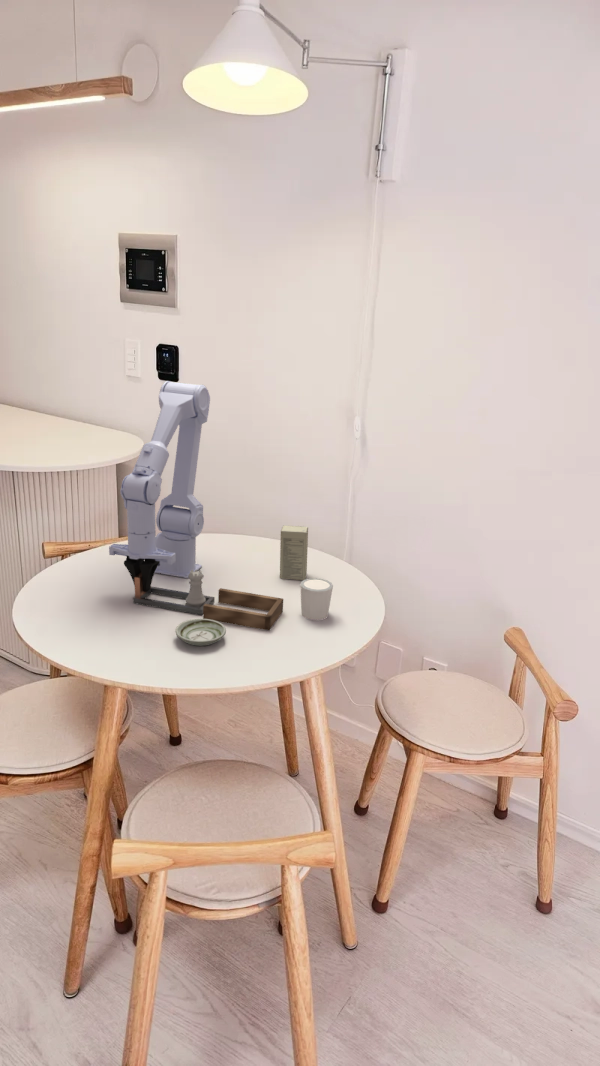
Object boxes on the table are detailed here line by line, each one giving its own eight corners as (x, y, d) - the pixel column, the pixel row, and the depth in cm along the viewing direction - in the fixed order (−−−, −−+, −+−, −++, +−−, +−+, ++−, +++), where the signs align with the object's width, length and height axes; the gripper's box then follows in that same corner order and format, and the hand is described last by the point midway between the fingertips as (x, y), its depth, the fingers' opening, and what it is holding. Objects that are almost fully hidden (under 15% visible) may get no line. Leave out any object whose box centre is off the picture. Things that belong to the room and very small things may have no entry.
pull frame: (133, 602, 148) (132, 578, 147) (147, 590, 155) (147, 567, 153) (202, 615, 145) (202, 590, 143) (214, 602, 151) (214, 578, 149)
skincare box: (306, 574, 169) (309, 526, 165) (305, 581, 165) (308, 532, 161) (280, 571, 169) (282, 524, 165) (278, 578, 165) (280, 530, 161)
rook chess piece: (210, 607, 149) (210, 572, 146) (192, 612, 146) (192, 577, 143) (198, 600, 152) (199, 566, 149) (181, 605, 149) (181, 570, 146)
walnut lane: (203, 618, 143) (203, 605, 142) (220, 600, 152) (220, 588, 151) (269, 630, 140) (269, 617, 139) (282, 611, 149) (283, 598, 148)
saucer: (211, 657, 129) (211, 645, 129) (166, 646, 132) (165, 634, 132) (234, 634, 138) (234, 623, 137) (190, 625, 141) (190, 614, 140)
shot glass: (314, 604, 153) (316, 575, 151) (337, 615, 148) (339, 585, 146) (291, 613, 148) (293, 582, 146) (314, 624, 144) (317, 593, 141)
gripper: (100, 531, 144) (103, 591, 149) (164, 541, 141) (165, 602, 145) (117, 521, 151) (119, 579, 155) (179, 530, 147) (179, 589, 152)
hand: (142, 589), depth 151 cm, fingers closed on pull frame
